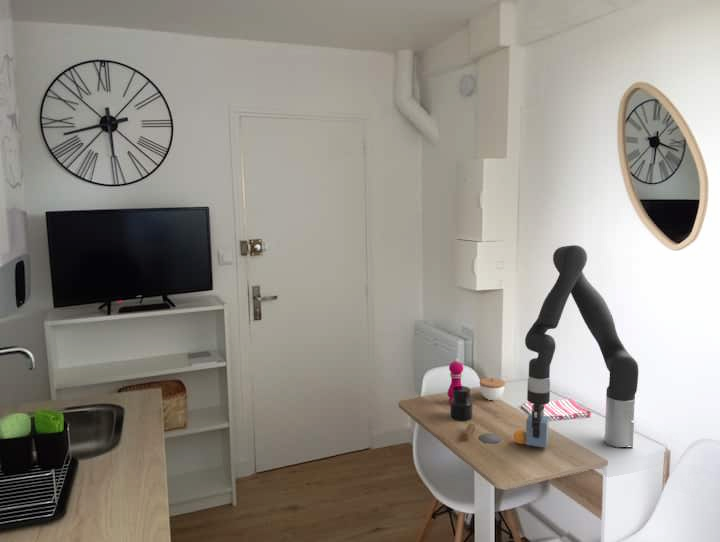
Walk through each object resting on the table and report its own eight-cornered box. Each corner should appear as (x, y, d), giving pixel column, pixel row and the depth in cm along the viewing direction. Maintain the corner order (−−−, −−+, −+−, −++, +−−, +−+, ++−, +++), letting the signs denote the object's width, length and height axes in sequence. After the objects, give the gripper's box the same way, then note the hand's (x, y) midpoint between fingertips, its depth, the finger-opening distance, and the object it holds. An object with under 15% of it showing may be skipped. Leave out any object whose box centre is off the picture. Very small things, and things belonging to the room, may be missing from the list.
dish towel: (592, 418, 225) (593, 410, 225) (538, 423, 221) (538, 415, 221) (570, 403, 242) (570, 395, 241) (519, 408, 238) (519, 400, 237)
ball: (530, 439, 203) (525, 426, 203) (528, 444, 199) (523, 431, 199) (517, 442, 205) (512, 429, 206) (515, 447, 201) (509, 434, 201)
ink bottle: (474, 414, 231) (474, 386, 229) (473, 422, 222) (473, 393, 221) (450, 412, 233) (450, 384, 232) (448, 420, 225) (448, 391, 223)
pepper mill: (446, 400, 246) (446, 356, 244) (463, 400, 246) (463, 356, 244) (448, 406, 239) (448, 361, 237) (465, 406, 239) (466, 361, 236)
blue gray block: (548, 439, 201) (548, 416, 200) (546, 447, 195) (546, 423, 194) (528, 437, 204) (529, 413, 203) (525, 444, 198) (526, 420, 197)
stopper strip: (474, 430, 214) (474, 424, 214) (468, 441, 205) (468, 434, 205) (469, 429, 215) (469, 423, 215) (462, 440, 206) (462, 433, 206)
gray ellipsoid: (503, 436, 209) (503, 435, 209) (499, 444, 202) (499, 444, 202) (481, 432, 212) (481, 432, 212) (476, 441, 205) (476, 440, 205)
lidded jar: (488, 392, 256) (489, 372, 254) (509, 398, 248) (509, 377, 247) (474, 398, 248) (474, 378, 247) (495, 404, 241) (495, 383, 239)
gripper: (547, 396, 189) (546, 443, 191) (551, 383, 202) (550, 427, 204) (524, 393, 192) (523, 439, 194) (530, 381, 205) (529, 424, 207)
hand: (537, 433), depth 199 cm, fingers closed on blue gray block, 7 cm apart
